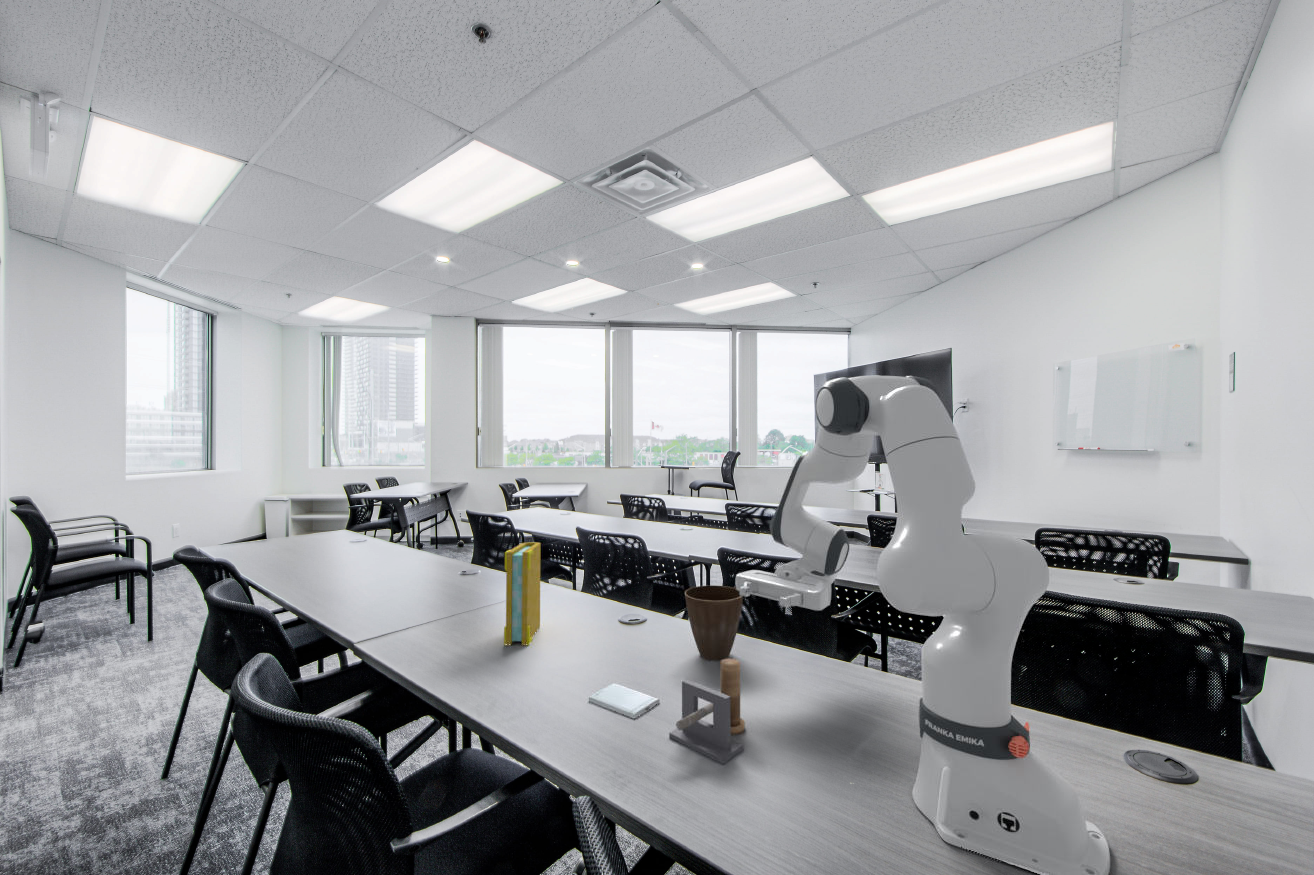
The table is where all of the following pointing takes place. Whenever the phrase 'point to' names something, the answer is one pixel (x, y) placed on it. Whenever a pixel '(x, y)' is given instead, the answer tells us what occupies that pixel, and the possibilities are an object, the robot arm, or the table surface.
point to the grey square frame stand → (707, 724)
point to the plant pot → (714, 619)
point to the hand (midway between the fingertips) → (762, 597)
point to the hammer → (728, 687)
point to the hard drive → (624, 700)
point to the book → (522, 592)
